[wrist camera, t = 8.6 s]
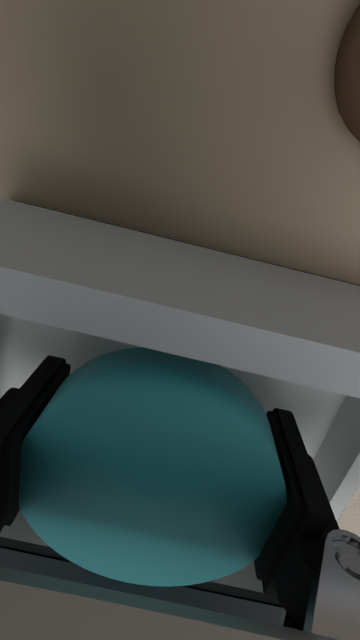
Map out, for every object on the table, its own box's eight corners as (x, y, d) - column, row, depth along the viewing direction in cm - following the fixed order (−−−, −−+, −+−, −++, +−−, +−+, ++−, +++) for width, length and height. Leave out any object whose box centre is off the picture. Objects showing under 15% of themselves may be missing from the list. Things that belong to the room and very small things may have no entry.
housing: (-17, 405, 17) (-155, 552, 10) (313, 480, 17) (378, 664, 11) (-15, 574, 22) (-104, 736, 16) (233, 626, 23) (244, 803, 16)
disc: (55, 320, 9) (16, 358, 7) (308, 380, 9) (333, 431, 7) (40, 497, 12) (9, 557, 10) (233, 540, 12) (238, 606, 10)
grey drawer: (4, 198, 12) (-182, 223, 6) (392, 294, 13) (556, 400, 7) (-1, 463, 18) (-104, 610, 12) (273, 523, 18) (306, 695, 12)
